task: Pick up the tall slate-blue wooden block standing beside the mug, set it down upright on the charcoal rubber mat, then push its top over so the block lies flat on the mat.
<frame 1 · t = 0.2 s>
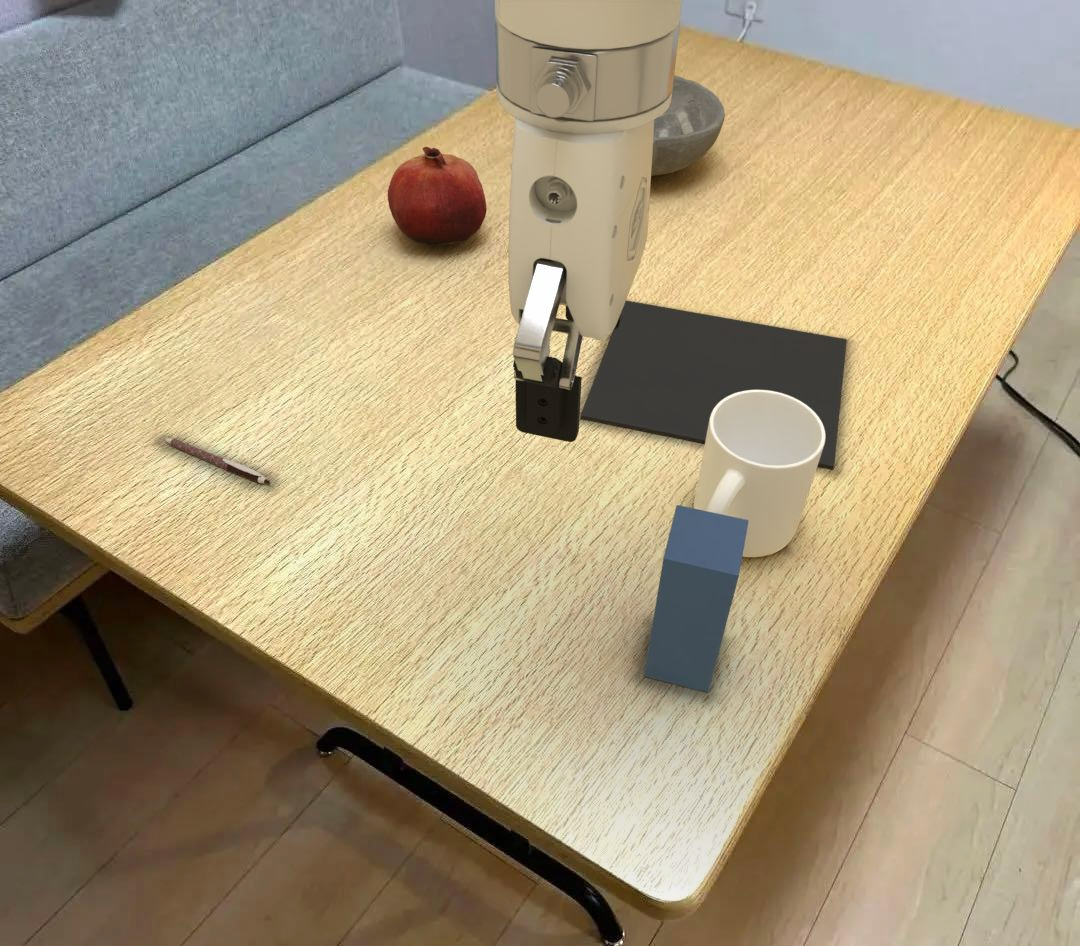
hand: (571, 374, 52), 23 cm above the table, tool pointing down, fingers open, 9 cm apart
block: (681, 657, 66), on the table
mat: (719, 378, 88), on the table
bowl: (643, 164, 116), on the table
fruit: (440, 239, 104), on the table
pen: (217, 465, 80), on the table
mug: (731, 536, 75), on the table
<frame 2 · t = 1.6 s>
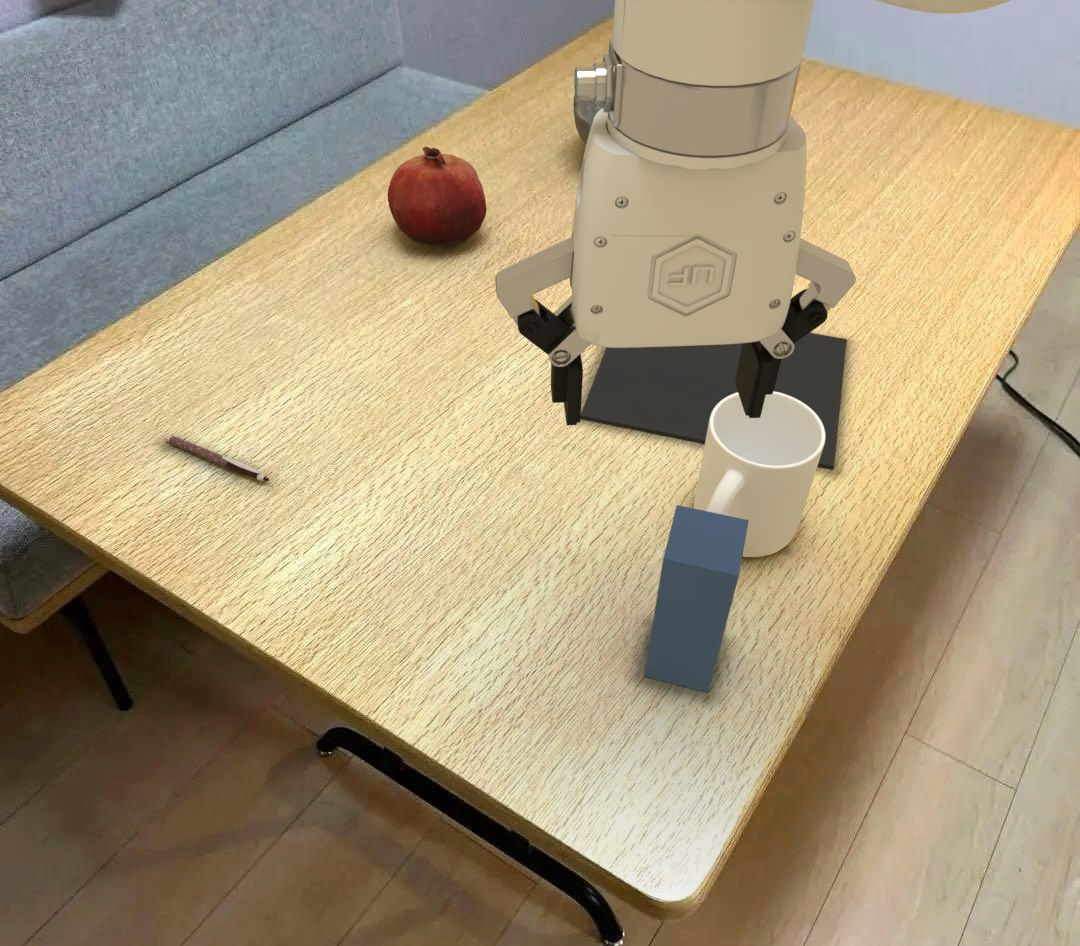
hand: (659, 404, 51), 23 cm above the table, tool pointing down, fingers open, 9 cm apart
nothing on the table moved.
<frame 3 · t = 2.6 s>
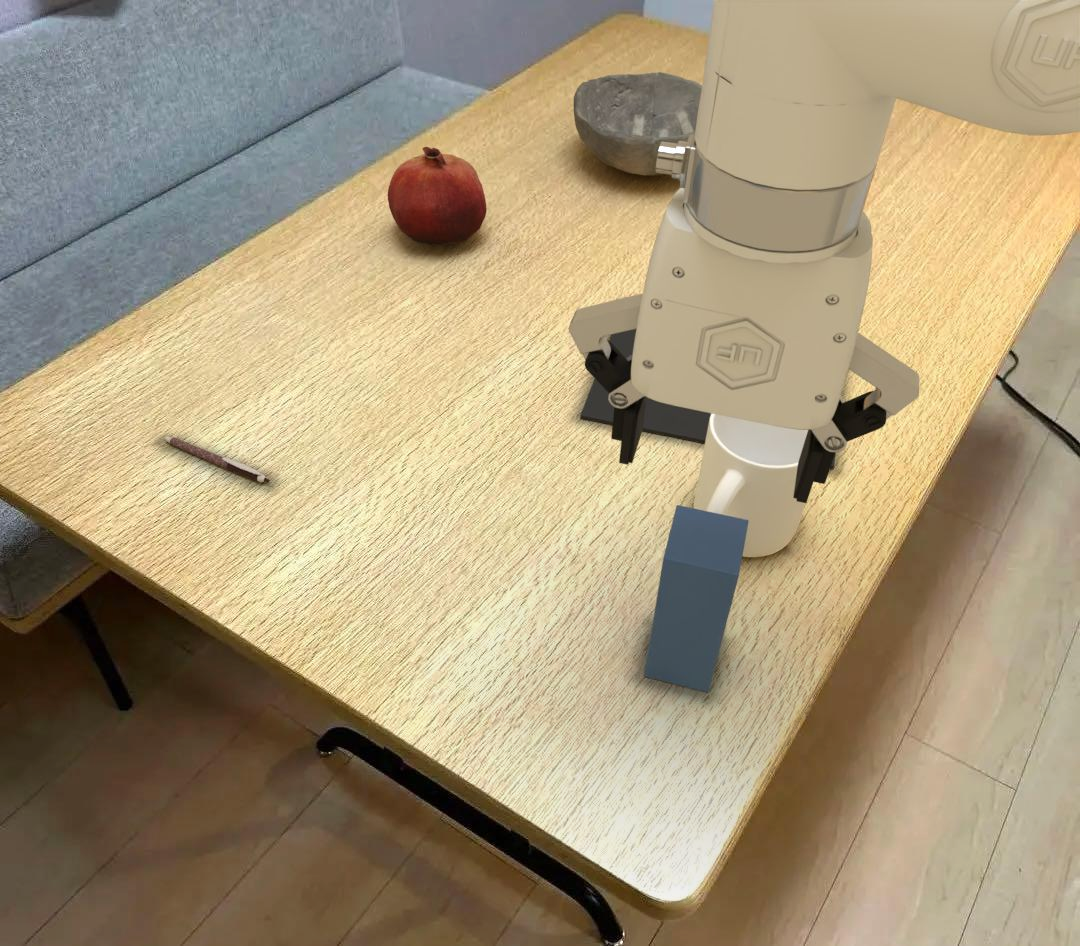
hand: (714, 465, 53), 19 cm above the table, tool pointing down, fingers open, 9 cm apart
nothing on the table moved.
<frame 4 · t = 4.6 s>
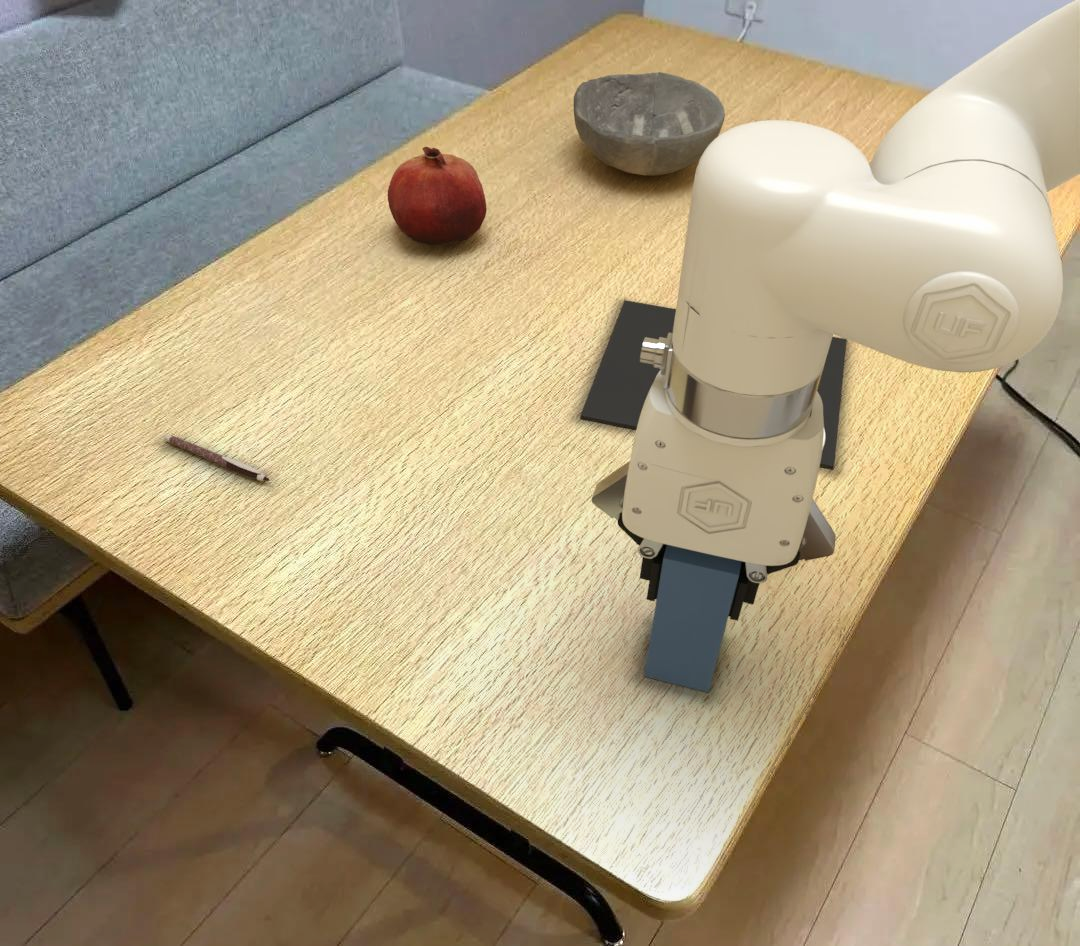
hand: (695, 591, 61), 8 cm above the table, tool pointing down, fingers closed on block, 4 cm apart
block: (681, 657, 66), on the table, touching gripper
everything else where it was.
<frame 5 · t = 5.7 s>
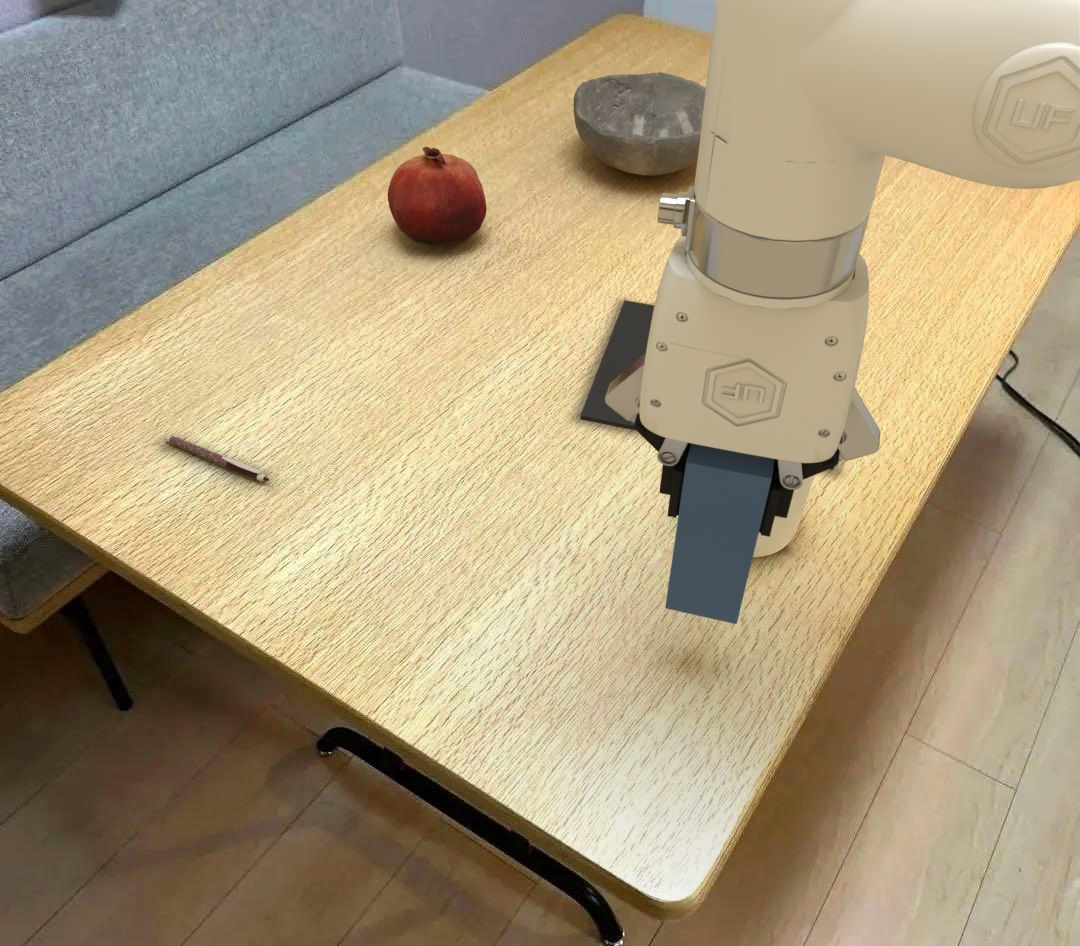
hand: (722, 506, 55), 16 cm above the table, tool pointing down, fingers closed on block, 4 cm apart
block: (706, 588, 60), point 8 cm above the table, touching gripper
everything else where it was.
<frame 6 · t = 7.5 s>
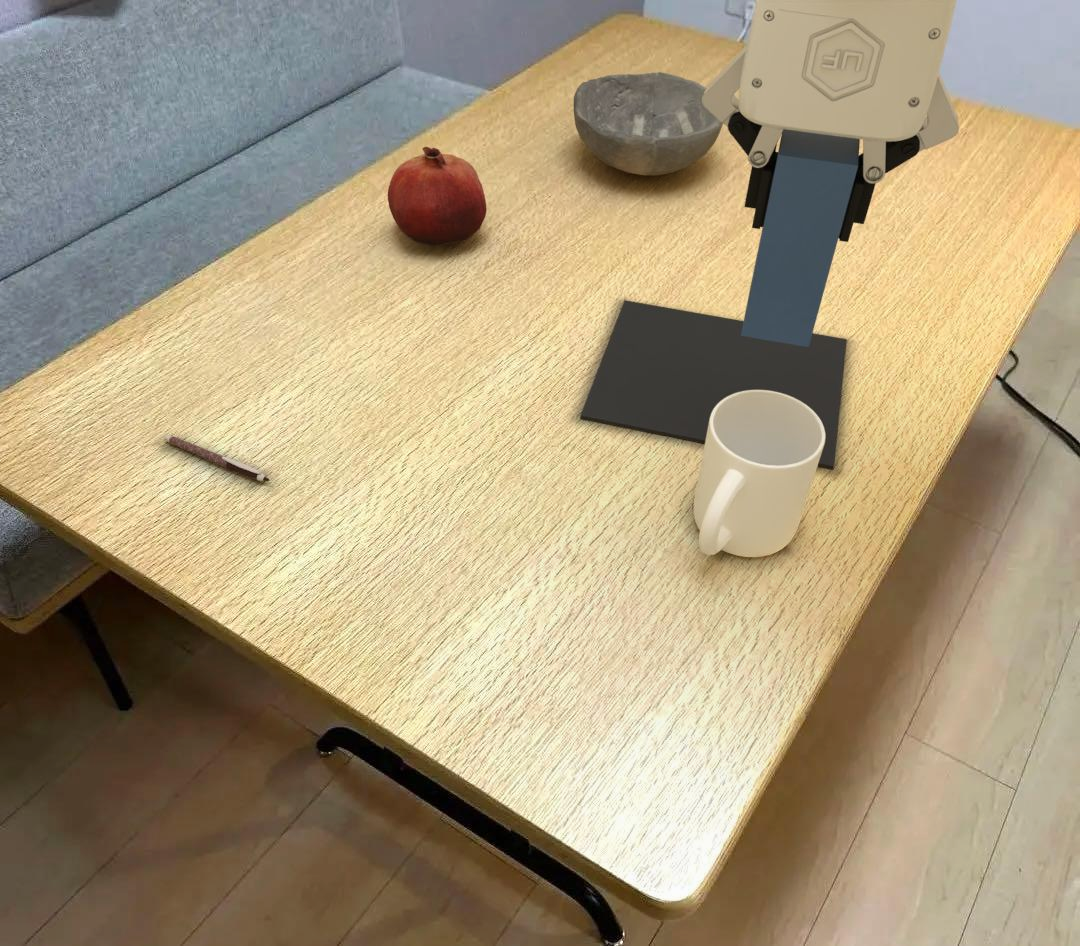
hand: (801, 221, 59), 25 cm above the table, tool pointing down, fingers closed on block, 4 cm apart
block: (777, 322, 65), point 18 cm above the table, touching gripper
everything else where it was.
when the fingers open (8 cm above the table, at t = 12.8 s): block stays where it is, resting on mat.
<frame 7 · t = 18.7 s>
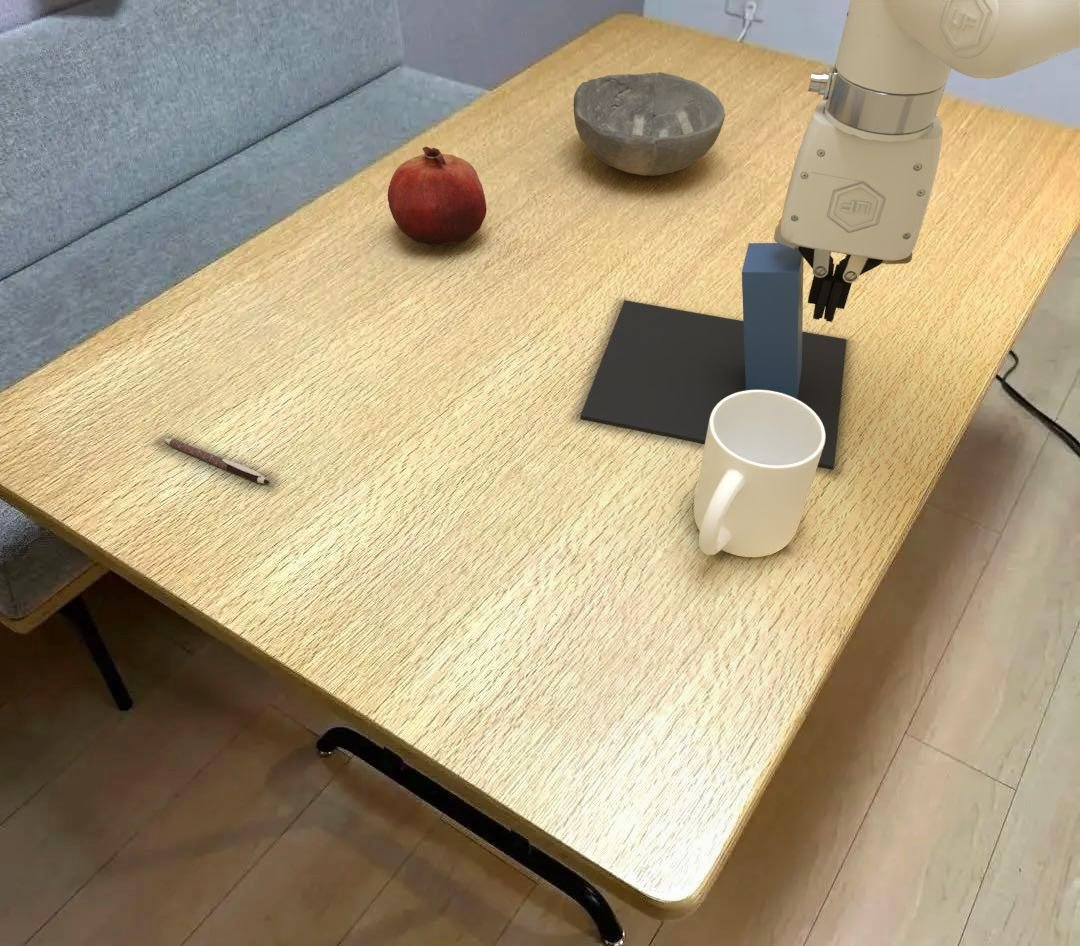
hand: (823, 310, 80), 9 cm above the table, tool pointing down, fingers closed
block: (774, 381, 86), point 1 cm above the table, tilted 11°, touching mat
everything else where it was.
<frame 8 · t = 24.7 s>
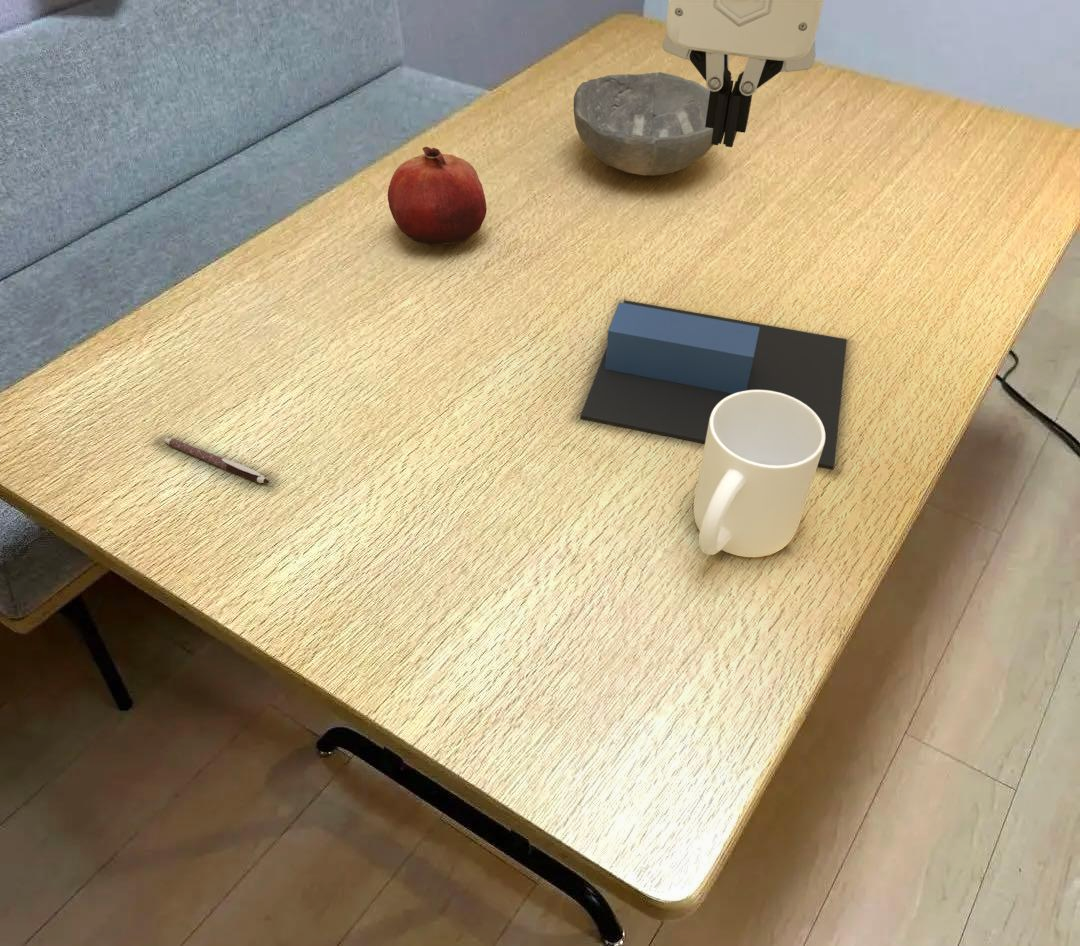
hand: (724, 137, 72), 23 cm above the table, tool pointing down, fingers closed
block: (752, 361, 85), point 3 cm above the table, tilted 90°, touching mat
everything else where it was.
at the end: block tilted 90°; block inside the target area on the mat (4.6 cm from its centre), point 2.6 cm above the mat's base; the gripper is holding nothing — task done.
